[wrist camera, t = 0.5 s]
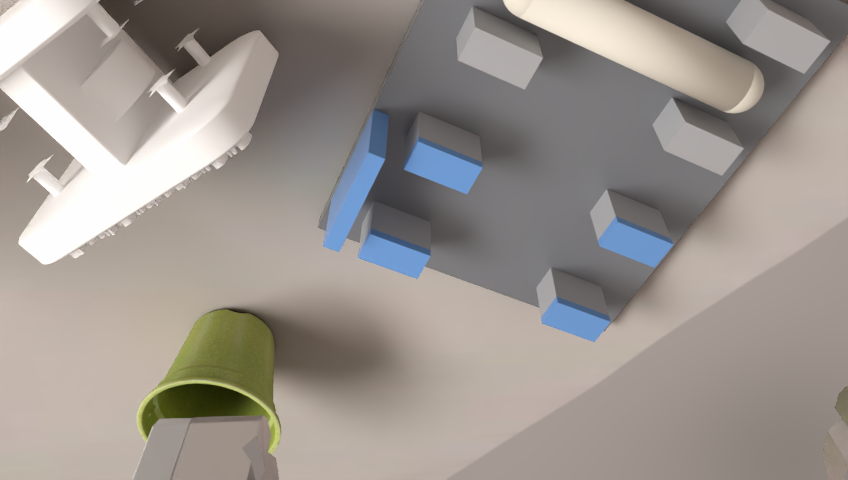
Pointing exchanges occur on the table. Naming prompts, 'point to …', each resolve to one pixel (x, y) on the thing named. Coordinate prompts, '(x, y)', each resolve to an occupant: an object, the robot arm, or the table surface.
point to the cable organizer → (120, 116)
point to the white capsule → (650, 48)
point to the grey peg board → (556, 150)
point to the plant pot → (218, 374)
